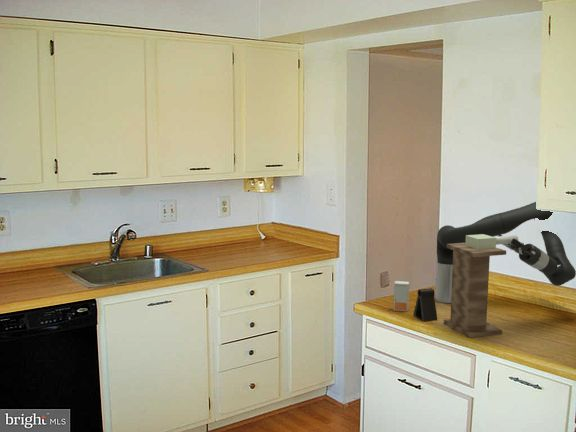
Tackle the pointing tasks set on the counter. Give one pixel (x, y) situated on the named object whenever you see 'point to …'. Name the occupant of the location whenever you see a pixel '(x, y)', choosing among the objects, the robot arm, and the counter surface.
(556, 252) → the robot arm
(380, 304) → the counter surface
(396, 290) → the skincare box
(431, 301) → the phone stand
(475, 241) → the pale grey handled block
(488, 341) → the counter surface
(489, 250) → the walnut stand
